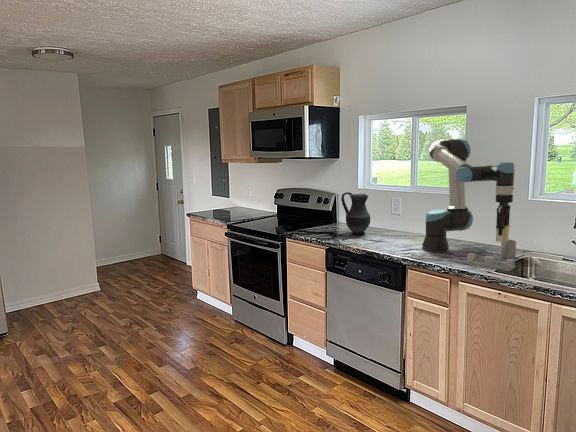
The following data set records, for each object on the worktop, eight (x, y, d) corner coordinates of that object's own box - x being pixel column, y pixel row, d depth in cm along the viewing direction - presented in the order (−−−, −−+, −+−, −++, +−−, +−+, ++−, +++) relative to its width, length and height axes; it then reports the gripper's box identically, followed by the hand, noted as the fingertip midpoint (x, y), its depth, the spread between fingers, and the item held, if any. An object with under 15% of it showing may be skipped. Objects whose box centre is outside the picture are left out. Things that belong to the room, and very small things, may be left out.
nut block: (495, 241, 210) (496, 225, 209) (498, 239, 213) (499, 224, 212) (505, 242, 207) (506, 226, 206) (508, 240, 210) (509, 225, 209)
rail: (464, 263, 220) (465, 255, 219) (471, 260, 227) (471, 251, 226) (510, 271, 205) (511, 262, 204) (516, 267, 212) (516, 258, 211)
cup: (517, 257, 229) (518, 241, 228) (509, 260, 223) (510, 244, 222) (504, 254, 235) (505, 239, 234) (495, 258, 229) (496, 242, 228)
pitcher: (364, 238, 286) (364, 194, 281) (337, 235, 297) (336, 193, 292) (373, 233, 301) (374, 191, 295) (347, 230, 311) (346, 190, 306)
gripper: (506, 196, 197) (504, 244, 201) (518, 192, 210) (515, 238, 214) (490, 195, 202) (488, 242, 206) (501, 192, 215) (499, 236, 219)
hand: (502, 240), depth 210 cm, fingers closed on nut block, 4 cm apart
